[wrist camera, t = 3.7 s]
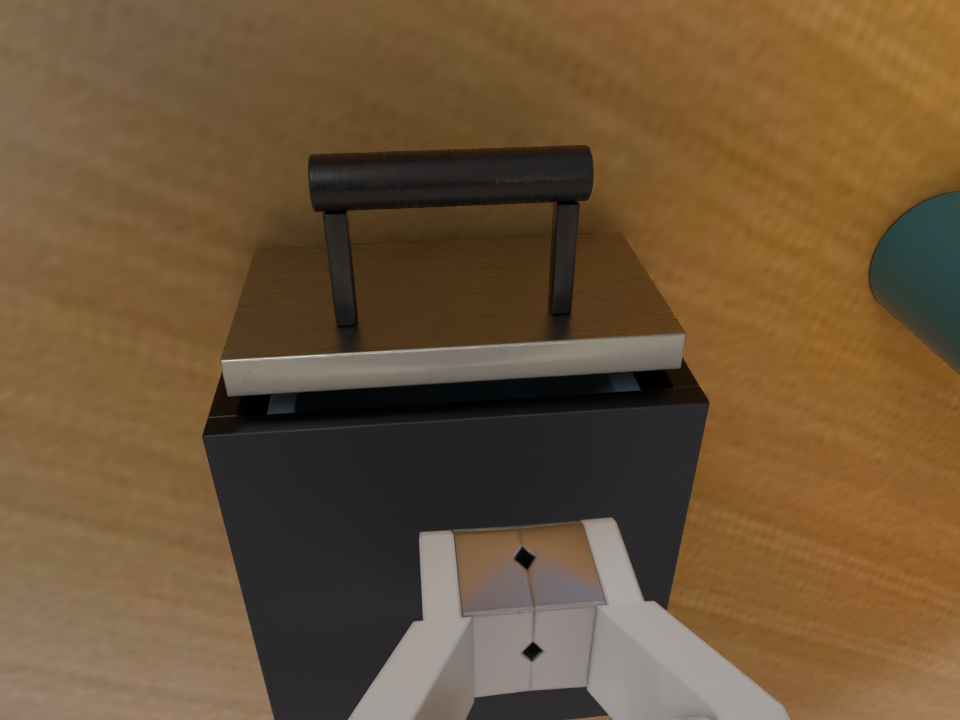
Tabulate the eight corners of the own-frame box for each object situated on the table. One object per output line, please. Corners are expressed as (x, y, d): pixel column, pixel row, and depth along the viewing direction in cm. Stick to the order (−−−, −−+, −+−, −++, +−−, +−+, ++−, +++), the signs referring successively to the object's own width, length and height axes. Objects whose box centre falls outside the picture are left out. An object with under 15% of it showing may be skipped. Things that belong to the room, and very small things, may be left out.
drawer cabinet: (248, 282, 27) (201, 436, 20) (626, 263, 28) (710, 402, 21) (301, 567, 35) (281, 749, 28) (593, 543, 36) (646, 711, 29)
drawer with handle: (229, 102, 23) (179, 184, 17) (637, 91, 24) (717, 164, 18) (305, 537, 33) (290, 679, 27) (590, 514, 34) (632, 646, 28)
